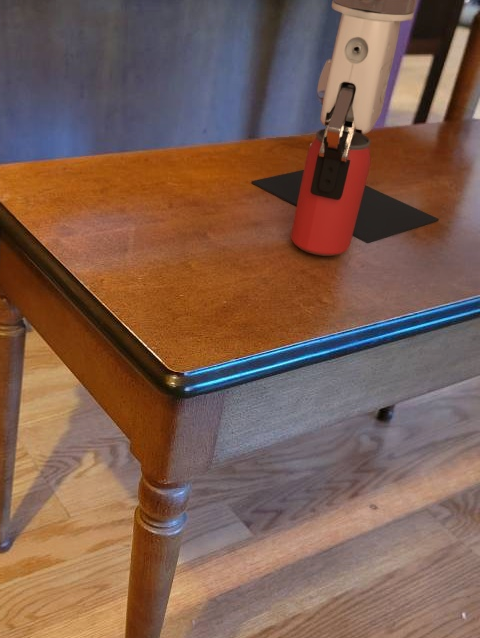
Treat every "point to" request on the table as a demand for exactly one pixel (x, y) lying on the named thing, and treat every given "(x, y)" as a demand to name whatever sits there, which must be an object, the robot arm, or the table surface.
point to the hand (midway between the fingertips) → (333, 183)
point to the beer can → (330, 202)
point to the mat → (374, 212)
